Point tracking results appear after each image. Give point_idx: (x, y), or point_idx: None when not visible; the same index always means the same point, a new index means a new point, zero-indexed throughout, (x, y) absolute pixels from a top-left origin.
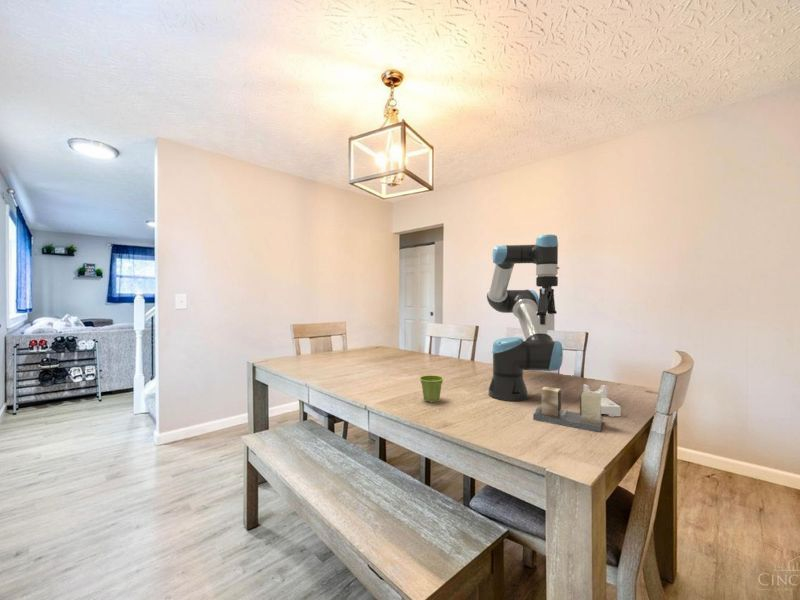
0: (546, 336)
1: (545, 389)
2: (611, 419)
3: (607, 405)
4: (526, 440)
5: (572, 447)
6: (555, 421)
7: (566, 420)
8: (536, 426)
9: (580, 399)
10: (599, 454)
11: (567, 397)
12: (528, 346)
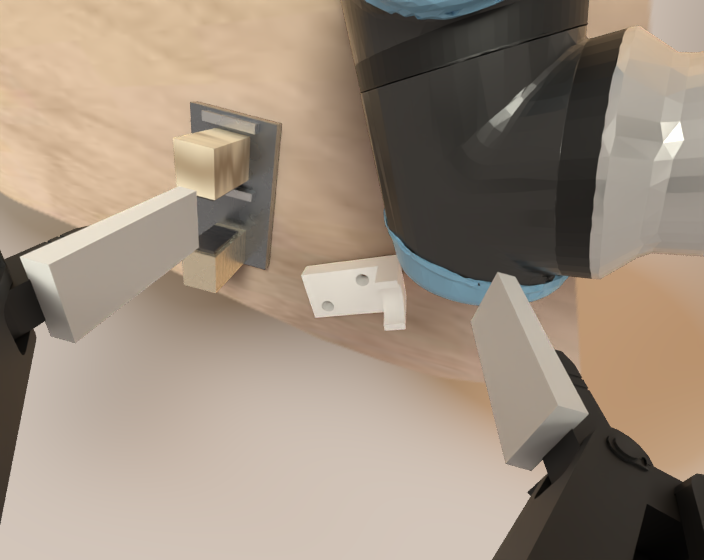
0: (543, 245)
1: (177, 152)
2: (293, 283)
3: (315, 296)
4: (55, 85)
5: (93, 182)
6: None
7: None
8: (153, 110)
9: None
10: None
11: None
12: (386, 80)
